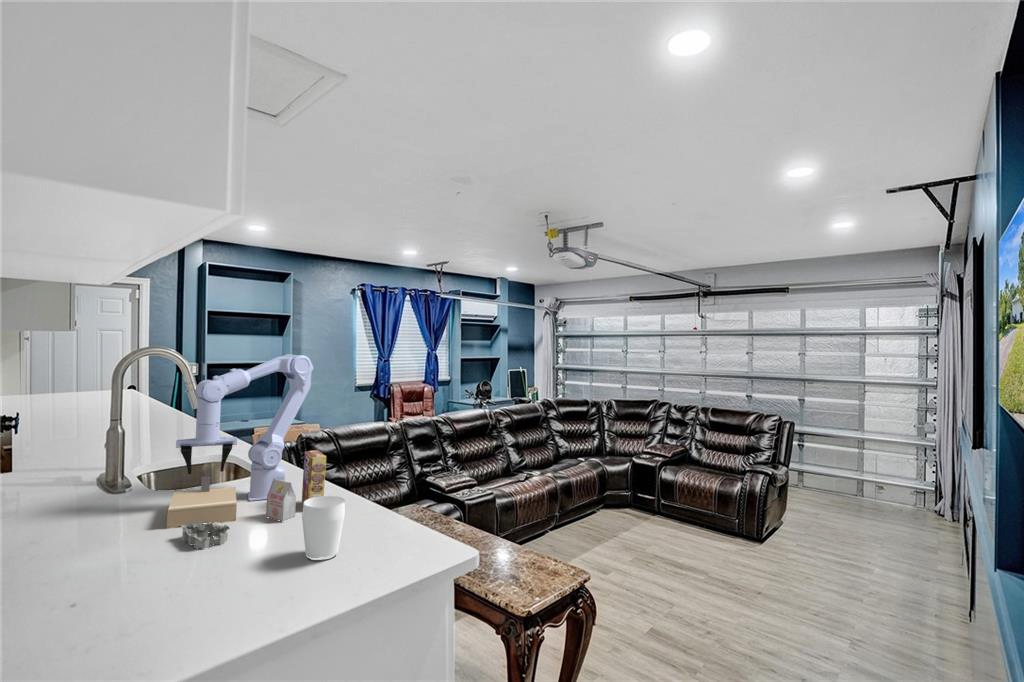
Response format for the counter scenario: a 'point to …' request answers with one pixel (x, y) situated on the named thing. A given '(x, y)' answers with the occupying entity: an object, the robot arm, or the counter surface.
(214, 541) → the egg carton
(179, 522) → the carton
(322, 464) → the candy box
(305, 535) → the cup
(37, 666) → the counter surface
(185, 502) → the sliding lid
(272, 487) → the milk carton
